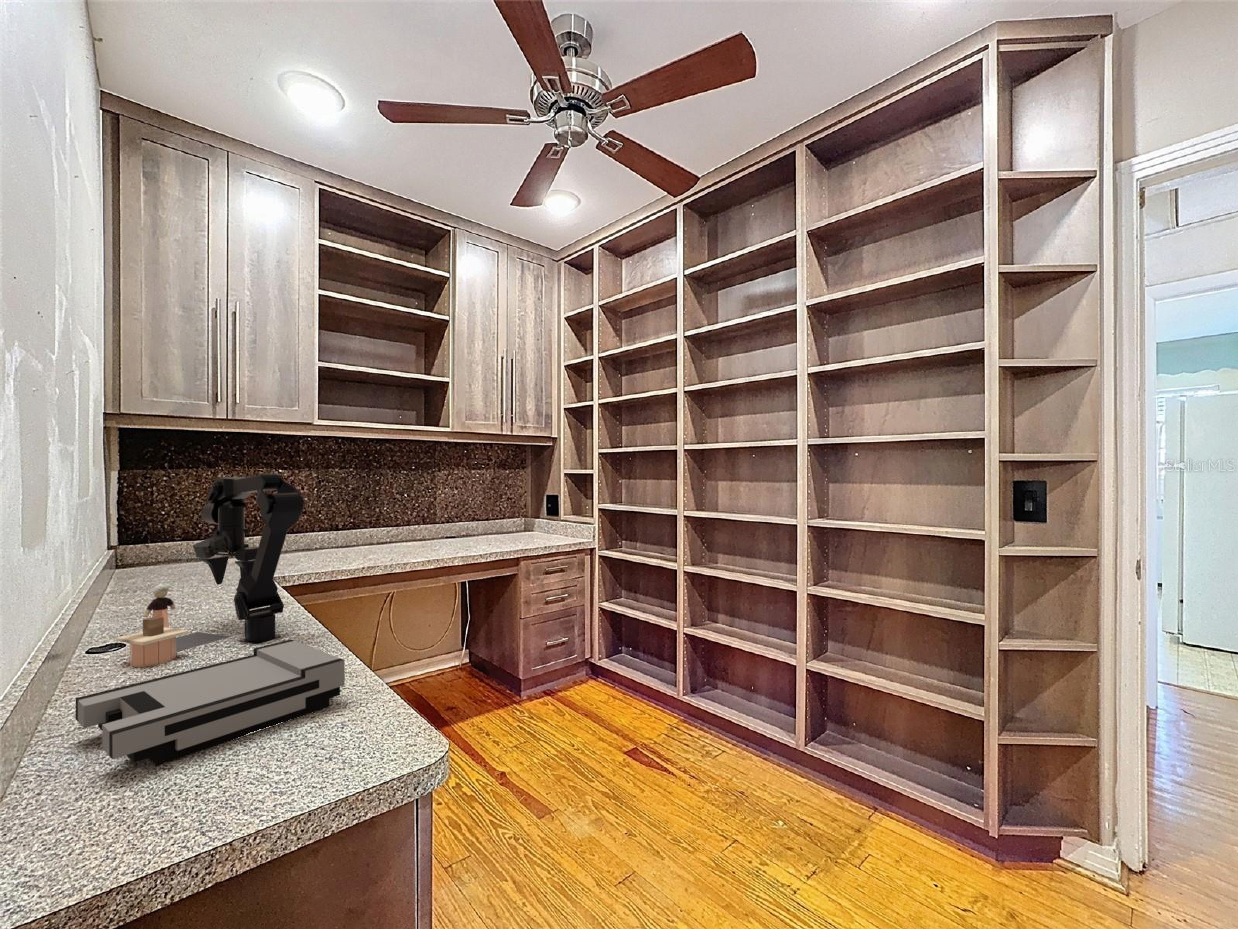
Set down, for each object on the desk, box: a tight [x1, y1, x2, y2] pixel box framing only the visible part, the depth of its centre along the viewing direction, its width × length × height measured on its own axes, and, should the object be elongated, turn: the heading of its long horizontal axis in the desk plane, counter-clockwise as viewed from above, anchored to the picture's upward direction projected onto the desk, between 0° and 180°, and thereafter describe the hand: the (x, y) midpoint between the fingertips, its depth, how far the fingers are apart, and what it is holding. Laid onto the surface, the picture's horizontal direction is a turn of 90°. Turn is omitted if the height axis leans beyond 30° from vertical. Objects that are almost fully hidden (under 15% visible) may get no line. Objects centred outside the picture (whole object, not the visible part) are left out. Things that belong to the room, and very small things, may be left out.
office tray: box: [75, 639, 346, 768], centre depth 96 cm, size 21×32×8 cm, turn 144°
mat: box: [176, 631, 231, 652], centre depth 139 cm, size 12×12×1 cm
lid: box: [115, 616, 190, 645], centre depth 125 cm, size 9×9×4 cm
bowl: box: [129, 637, 177, 668], centre depth 125 cm, size 8×8×6 cm
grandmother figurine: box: [143, 583, 176, 628], centre depth 147 cm, size 8×4×13 cm, turn 179°
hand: (231, 585), depth 148 cm, fingers open, 9 cm apart
